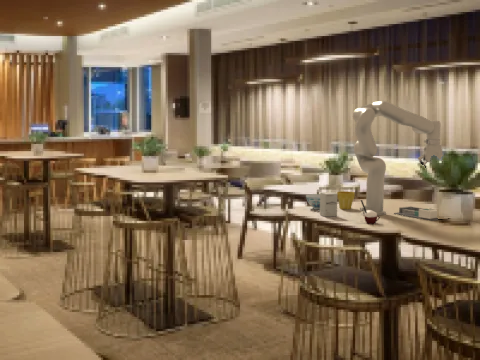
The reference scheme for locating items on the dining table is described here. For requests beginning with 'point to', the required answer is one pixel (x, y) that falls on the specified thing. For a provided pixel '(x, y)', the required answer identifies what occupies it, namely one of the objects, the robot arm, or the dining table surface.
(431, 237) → the dining table surface
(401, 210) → the tongs fixed arm
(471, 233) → the dining table surface
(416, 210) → the tongs moving arm
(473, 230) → the dining table surface
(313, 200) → the chinaware
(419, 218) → the mat
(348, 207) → the plant pot
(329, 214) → the supplement box
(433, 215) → the lock clasp
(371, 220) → the cocoa
